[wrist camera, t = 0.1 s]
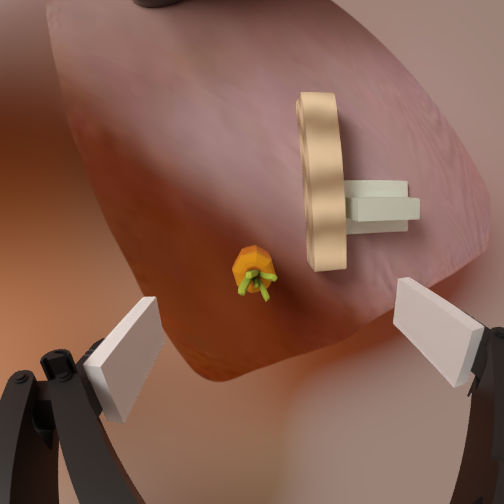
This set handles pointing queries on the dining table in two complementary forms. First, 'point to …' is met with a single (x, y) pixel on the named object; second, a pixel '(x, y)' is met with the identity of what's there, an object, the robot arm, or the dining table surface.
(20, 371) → the robot arm
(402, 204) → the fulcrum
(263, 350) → the dining table surface
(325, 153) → the birch bar
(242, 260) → the carrot
